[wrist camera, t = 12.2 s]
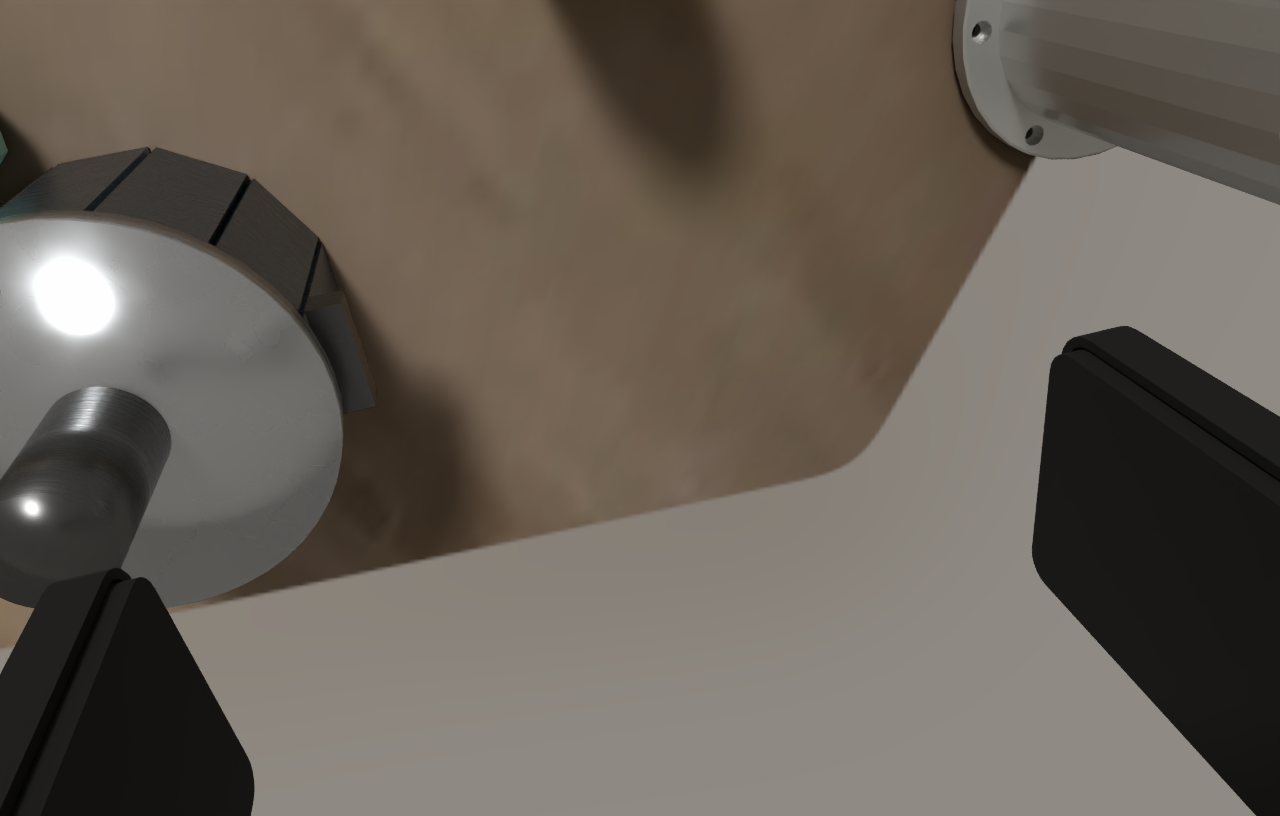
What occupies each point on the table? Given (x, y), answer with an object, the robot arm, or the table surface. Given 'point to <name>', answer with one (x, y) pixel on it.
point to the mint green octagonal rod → (2, 148)
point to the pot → (218, 236)
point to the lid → (153, 410)
